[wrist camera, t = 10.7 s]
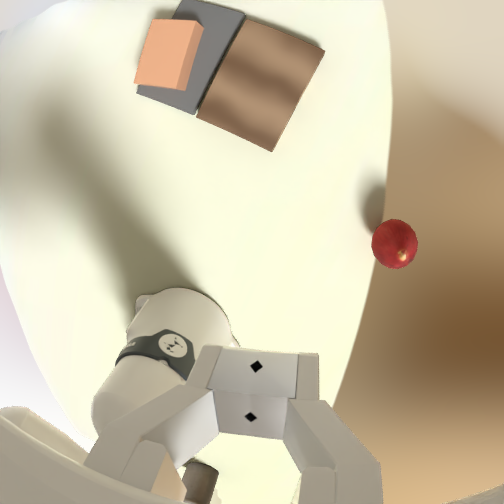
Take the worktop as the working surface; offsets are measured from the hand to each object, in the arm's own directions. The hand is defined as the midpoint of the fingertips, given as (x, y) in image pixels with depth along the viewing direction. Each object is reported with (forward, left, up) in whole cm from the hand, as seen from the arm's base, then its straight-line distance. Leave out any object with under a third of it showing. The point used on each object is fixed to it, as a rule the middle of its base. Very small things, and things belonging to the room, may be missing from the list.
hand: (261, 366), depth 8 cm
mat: (+9, +19, -31) cm, 38 cm away
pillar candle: (-81, -17, -31) cm, 89 cm away
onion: (0, -14, -31) cm, 34 cm away
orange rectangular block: (+8, +21, -30) cm, 38 cm away
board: (+9, +9, -31) cm, 34 cm away
